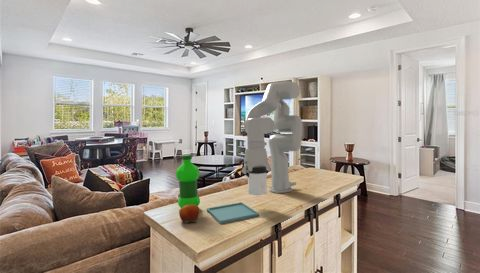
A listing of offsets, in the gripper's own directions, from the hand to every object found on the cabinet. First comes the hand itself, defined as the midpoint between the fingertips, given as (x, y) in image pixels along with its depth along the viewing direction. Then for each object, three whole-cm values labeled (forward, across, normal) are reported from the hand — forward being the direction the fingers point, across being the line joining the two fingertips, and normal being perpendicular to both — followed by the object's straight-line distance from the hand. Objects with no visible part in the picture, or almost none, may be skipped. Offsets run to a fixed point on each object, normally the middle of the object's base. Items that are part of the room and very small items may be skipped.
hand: (257, 185), depth 116 cm
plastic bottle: (+11, +28, -14) cm, 33 cm away
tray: (+10, +13, 0) cm, 16 cm away
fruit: (+11, +31, 0) cm, 33 cm away
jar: (+4, 0, 0) cm, 4 cm away
